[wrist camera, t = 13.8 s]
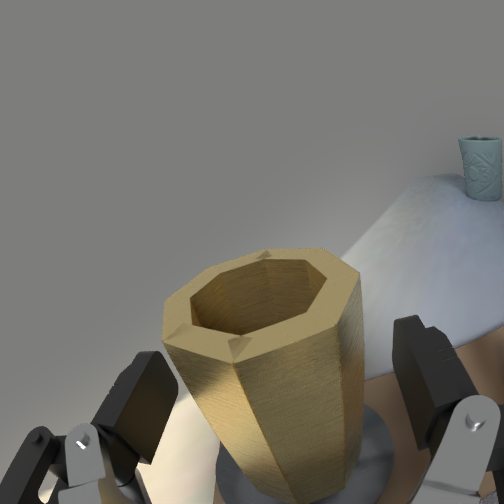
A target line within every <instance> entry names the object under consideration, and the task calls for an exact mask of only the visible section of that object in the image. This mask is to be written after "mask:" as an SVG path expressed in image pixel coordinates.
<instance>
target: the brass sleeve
mask: <svg viewBox="0 0 504 504" xmlns="http://www.w3.org/2000/svg"><path fill="white" fill-rule="evenodd" d="M162 343H163V345H164V346H165V349H166V350H167V352H168V354H169V356H170V358H171V360H172V362H173V363H174V365H175V367H176V369H177V371H178V373H179V374H180V376H181V378H182V380H183V381H184V383H185V385H186V386H187V388H188V390H189V392H190V393H191V395H192V397H193V398H194V400H195V402H196V403H197V405H198V407H199V408H200V410H201V411H202V413H203V415H204V416H205V418H206V419H207V421H208V422H209V424H210V425H211V427H212V429H213V430H214V432H215V433H216V435H217V436H218V438H219V439H220V440H221V442H222V443H223V445H224V446H225V448H226V449H227V451H228V452H229V453H230V455H231V456H232V458H233V459H234V460H235V462H236V463H237V464H238V466H239V467H240V469H241V470H242V471H243V473H244V474H245V475H246V476H247V478H248V479H249V480H250V482H251V483H252V484H253V485H254V487H255V488H256V489H257V490H258V492H260V493H262V494H265V495H268V496H270V497H273V498H275V499H278V500H281V501H284V502H287V503H290V504H309V503H311V502H314V501H317V500H319V499H322V498H324V497H327V496H329V495H332V494H334V493H336V492H339V491H341V490H343V489H344V488H345V487H346V485H347V483H348V481H349V479H350V477H351V474H352V472H353V470H354V468H355V465H356V463H357V461H358V458H359V456H360V454H361V445H362V431H363V413H364V327H363V307H362V292H361V280H360V272H358V271H357V270H355V269H354V268H352V267H351V266H350V265H348V264H347V263H345V262H344V261H342V260H341V259H339V258H338V257H336V256H335V255H333V254H332V253H330V252H329V251H327V250H326V249H323V248H309V249H308V248H305V249H303V248H301V249H300V248H298V249H264V250H261V251H258V252H255V253H252V254H249V255H246V256H243V257H240V258H237V259H234V260H231V261H227V262H225V263H221V264H218V265H215V266H212V267H209V268H207V269H206V270H204V271H203V272H202V273H200V274H199V275H198V276H196V277H195V278H194V279H192V280H191V281H190V282H189V283H187V284H186V285H185V286H183V287H182V288H181V289H179V290H178V291H177V292H176V293H174V294H173V295H172V296H170V297H169V298H168V299H167V300H166V301H165V304H164V315H163V328H162Z"/></svg>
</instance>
